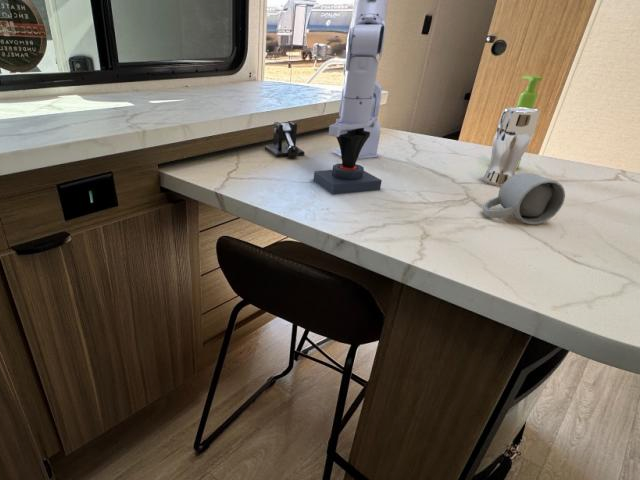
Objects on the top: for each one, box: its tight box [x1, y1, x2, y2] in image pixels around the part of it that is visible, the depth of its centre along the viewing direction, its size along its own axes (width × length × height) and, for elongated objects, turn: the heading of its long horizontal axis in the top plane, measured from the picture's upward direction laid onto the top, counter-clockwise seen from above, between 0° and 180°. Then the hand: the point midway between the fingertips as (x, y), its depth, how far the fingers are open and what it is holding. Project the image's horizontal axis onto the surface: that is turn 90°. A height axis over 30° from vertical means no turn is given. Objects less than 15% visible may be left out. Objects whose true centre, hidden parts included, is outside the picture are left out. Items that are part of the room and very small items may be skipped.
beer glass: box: [482, 106, 541, 187], centre depth 89 cm, size 7×7×15 cm
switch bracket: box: [264, 120, 305, 159], centre depth 113 cm, size 10×8×8 cm
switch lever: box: [280, 122, 300, 158], centre depth 111 cm, size 11×3×3 cm
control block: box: [313, 162, 383, 196], centre depth 90 cm, size 11×10×4 cm
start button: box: [340, 165, 357, 170], centre depth 89 cm, size 4×4×2 cm
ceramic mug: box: [482, 172, 566, 225], centre depth 74 cm, size 11×8×8 cm
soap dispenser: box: [515, 75, 543, 171], centre depth 98 cm, size 6×7×20 cm
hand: (348, 167), depth 89 cm, fingers closed, pressing on start button
